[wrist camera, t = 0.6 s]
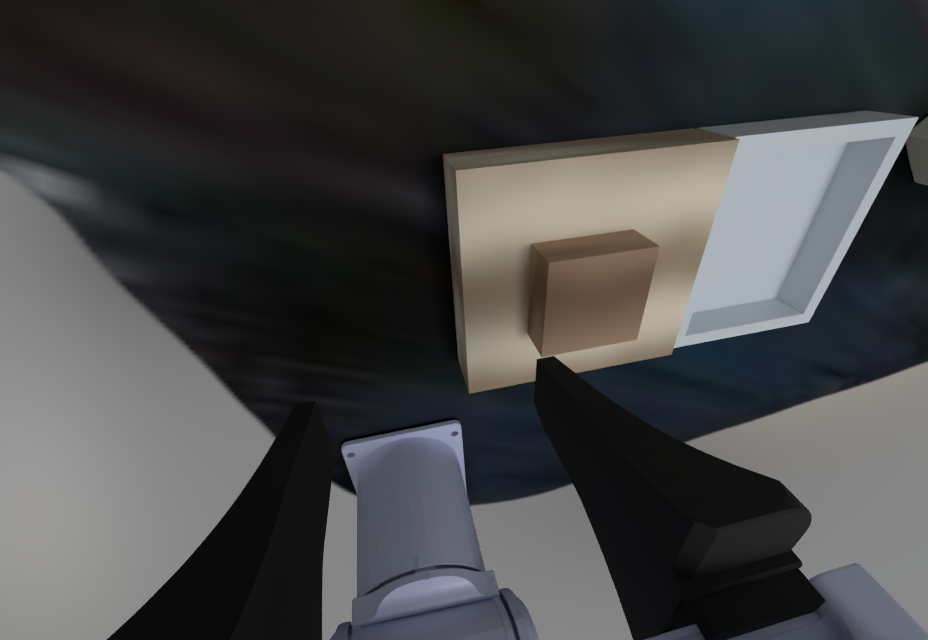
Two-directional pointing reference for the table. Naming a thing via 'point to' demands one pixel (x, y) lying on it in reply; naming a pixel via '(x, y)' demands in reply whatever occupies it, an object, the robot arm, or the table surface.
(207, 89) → the table surface
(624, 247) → the walnut tile
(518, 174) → the plate
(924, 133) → the skincare box
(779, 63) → the table surface
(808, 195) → the box
